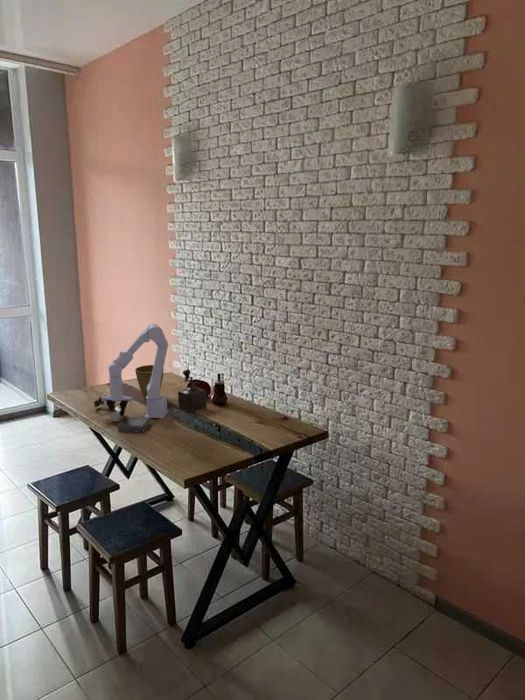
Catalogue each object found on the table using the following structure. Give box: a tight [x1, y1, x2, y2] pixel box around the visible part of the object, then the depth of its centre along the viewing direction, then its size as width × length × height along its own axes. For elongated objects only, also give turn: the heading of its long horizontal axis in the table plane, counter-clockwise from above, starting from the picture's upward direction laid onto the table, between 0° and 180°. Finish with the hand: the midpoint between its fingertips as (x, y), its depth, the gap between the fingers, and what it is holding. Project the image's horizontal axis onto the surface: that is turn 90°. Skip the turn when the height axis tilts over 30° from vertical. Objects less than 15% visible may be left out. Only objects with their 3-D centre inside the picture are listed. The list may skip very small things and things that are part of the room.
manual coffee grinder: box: [177, 369, 208, 414], centre depth 271 cm, size 16×11×18 cm
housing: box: [109, 406, 126, 421], centre depth 257 cm, size 8×4×5 cm, turn 173°
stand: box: [117, 416, 151, 433], centre depth 245 cm, size 11×11×3 cm
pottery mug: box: [93, 394, 117, 411], centre depth 271 cm, size 12×10×8 cm
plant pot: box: [134, 364, 165, 399], centre depth 288 cm, size 15×15×16 cm
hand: (118, 415), depth 257 cm, fingers closed on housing, 4 cm apart
